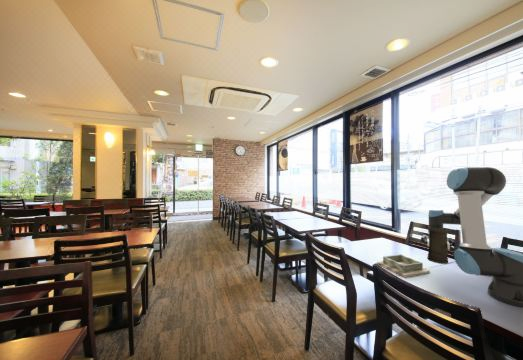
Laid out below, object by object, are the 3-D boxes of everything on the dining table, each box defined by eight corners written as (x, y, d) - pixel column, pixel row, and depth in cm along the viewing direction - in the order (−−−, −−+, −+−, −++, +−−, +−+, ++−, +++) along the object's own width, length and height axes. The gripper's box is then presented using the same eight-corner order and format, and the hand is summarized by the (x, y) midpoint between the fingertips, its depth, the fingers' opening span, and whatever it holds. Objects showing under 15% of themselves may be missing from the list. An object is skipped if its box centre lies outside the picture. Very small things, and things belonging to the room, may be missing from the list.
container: (452, 264, 113) (453, 231, 113) (432, 263, 115) (433, 230, 114) (441, 258, 122) (442, 227, 121) (423, 257, 124) (424, 226, 123)
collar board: (429, 272, 129) (429, 264, 129) (404, 277, 123) (404, 268, 123) (399, 260, 148) (400, 252, 148) (377, 263, 143) (377, 255, 143)
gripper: (458, 245, 126) (464, 256, 108) (415, 239, 139) (414, 248, 121) (458, 232, 126) (464, 242, 108) (416, 227, 139) (414, 235, 121)
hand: (438, 245), depth 114 cm, fingers closed on container, 8 cm apart
